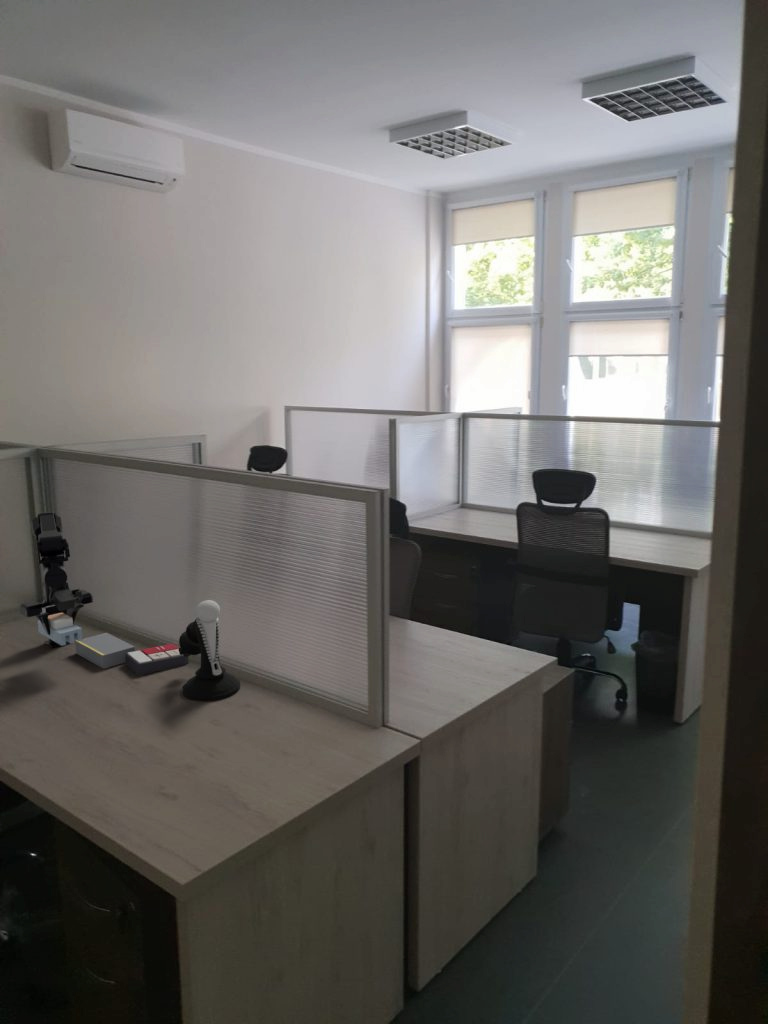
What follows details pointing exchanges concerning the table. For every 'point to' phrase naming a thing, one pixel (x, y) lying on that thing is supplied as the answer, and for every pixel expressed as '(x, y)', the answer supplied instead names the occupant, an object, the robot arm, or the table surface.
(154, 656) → the grey red white box
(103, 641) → the dock
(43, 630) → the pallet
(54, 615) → the salmon brown block
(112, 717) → the table surface
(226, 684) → the sculpture
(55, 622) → the off-white block
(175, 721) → the table surface
